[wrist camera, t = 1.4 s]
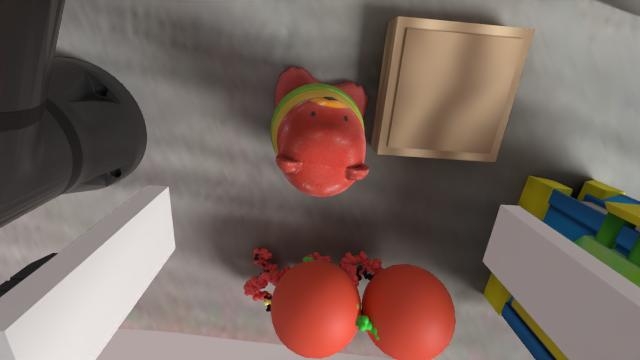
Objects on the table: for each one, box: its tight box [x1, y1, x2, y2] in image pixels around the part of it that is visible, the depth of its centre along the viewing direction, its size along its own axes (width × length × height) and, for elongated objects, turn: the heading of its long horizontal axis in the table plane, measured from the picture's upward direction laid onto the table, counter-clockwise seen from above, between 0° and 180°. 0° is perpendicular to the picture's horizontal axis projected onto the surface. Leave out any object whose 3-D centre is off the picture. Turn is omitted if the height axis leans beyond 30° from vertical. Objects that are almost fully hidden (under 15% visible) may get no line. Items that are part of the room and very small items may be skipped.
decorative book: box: [483, 176, 640, 360], centre depth 30 cm, size 14×23×30 cm, turn 173°
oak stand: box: [371, 16, 535, 162], centre depth 34 cm, size 14×14×4 cm
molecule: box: [244, 248, 456, 360], centre depth 37 cm, size 25×11×15 cm, turn 90°
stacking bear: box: [271, 67, 369, 197], centre depth 28 cm, size 11×10×18 cm
